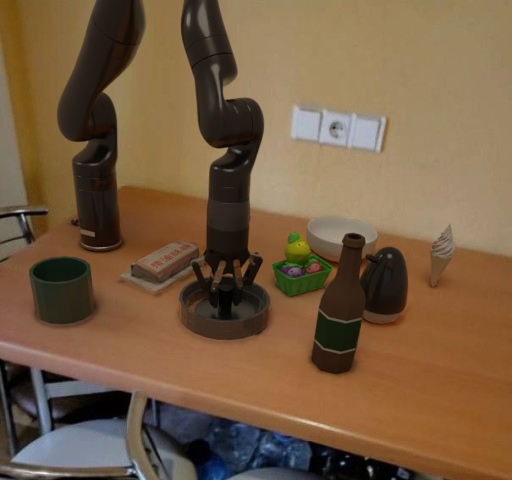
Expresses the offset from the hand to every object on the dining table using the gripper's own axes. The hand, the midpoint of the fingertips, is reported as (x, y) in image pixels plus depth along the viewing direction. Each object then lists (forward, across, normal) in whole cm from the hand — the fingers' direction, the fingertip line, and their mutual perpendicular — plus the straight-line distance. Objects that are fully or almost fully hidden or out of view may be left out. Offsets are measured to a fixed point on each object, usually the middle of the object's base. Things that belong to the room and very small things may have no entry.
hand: (224, 304), depth 108 cm
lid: (+2, 0, 0) cm, 2 cm away
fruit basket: (+3, -19, -9) cm, 21 cm away
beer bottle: (+3, -15, +18) cm, 24 cm away
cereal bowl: (+3, -34, -21) cm, 40 cm away
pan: (+3, 0, 0) cm, 3 cm away
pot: (+3, +29, -8) cm, 30 cm away
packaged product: (+3, +8, -20) cm, 22 cm away
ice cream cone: (+3, -49, -3) cm, 49 cm away
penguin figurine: (+3, -30, +6) cm, 31 cm away
